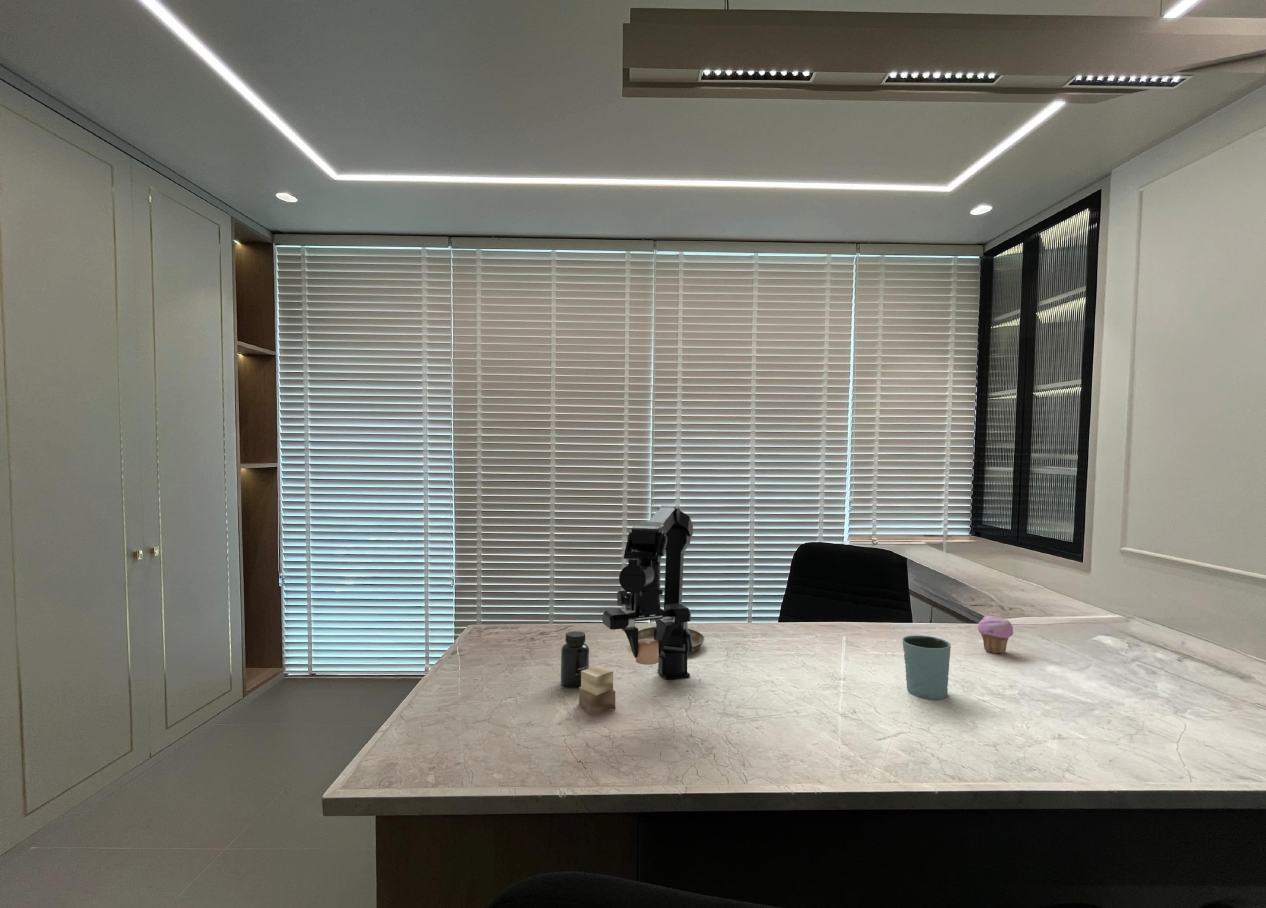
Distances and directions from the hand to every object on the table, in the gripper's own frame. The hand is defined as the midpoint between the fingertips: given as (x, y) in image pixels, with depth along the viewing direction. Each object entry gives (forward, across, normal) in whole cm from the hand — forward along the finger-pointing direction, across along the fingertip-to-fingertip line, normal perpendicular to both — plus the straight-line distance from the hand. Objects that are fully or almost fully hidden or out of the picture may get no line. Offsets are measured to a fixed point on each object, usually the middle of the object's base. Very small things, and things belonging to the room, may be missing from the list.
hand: (646, 655), depth 128 cm
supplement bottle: (+12, +10, -21) cm, 27 cm away
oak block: (+8, +9, -6) cm, 14 cm away
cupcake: (+12, -109, -1) cm, 109 cm away
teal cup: (+12, -65, +14) cm, 68 cm away
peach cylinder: (+1, 0, 0) cm, 1 cm away
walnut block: (+12, +9, -6) cm, 17 cm away
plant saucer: (+12, -23, -39) cm, 47 cm away
